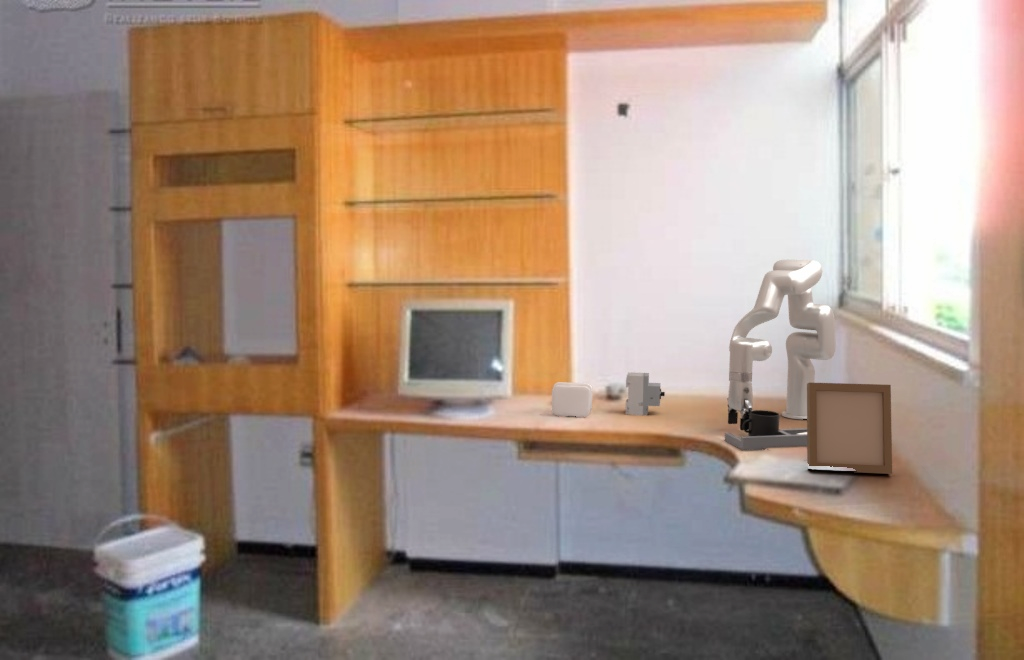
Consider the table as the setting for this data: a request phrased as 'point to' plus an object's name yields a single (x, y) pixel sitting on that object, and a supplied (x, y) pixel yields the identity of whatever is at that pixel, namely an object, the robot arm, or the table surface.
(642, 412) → the circuit breaker
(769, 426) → the mug
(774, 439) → the organizer
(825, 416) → the photo frame
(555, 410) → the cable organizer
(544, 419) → the table surface
